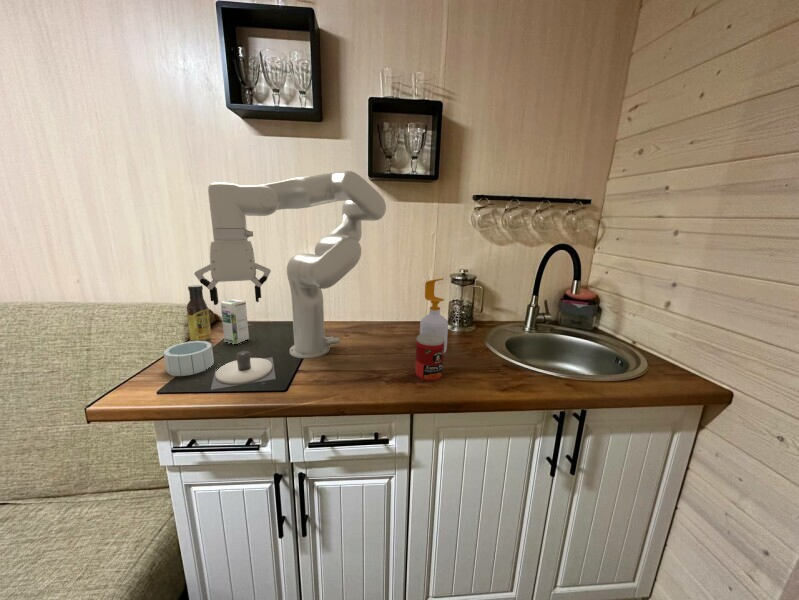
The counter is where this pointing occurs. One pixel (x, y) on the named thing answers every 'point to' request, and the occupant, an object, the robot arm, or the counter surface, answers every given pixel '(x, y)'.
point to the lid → (243, 369)
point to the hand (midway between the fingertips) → (237, 302)
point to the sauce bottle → (198, 315)
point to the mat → (270, 376)
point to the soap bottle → (434, 315)
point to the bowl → (188, 358)
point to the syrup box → (234, 321)
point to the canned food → (429, 356)
